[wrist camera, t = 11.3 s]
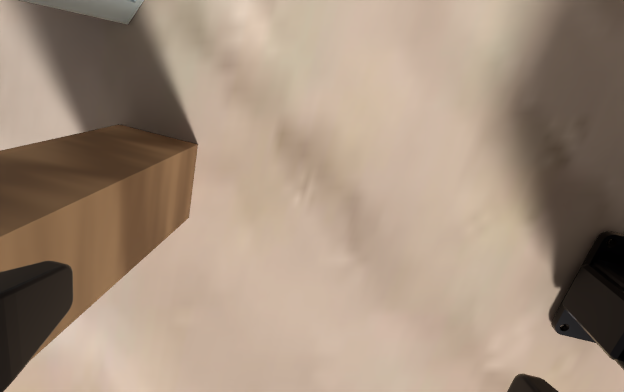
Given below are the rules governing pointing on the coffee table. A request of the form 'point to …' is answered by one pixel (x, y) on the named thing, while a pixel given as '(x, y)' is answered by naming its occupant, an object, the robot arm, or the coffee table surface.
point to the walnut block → (92, 205)
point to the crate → (96, 8)
